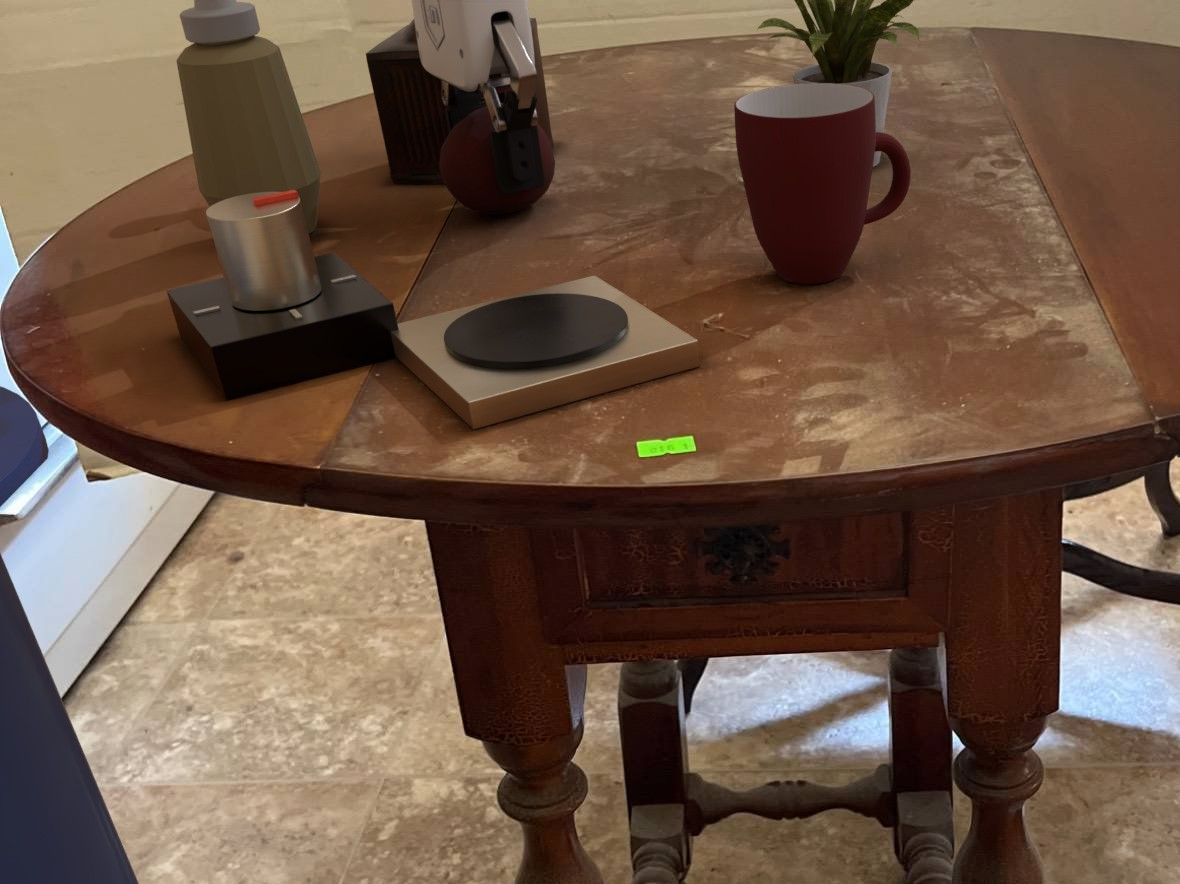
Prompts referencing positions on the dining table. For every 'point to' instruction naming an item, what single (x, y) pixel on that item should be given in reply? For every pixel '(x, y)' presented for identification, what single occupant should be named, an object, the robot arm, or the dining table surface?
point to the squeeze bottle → (243, 109)
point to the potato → (485, 167)
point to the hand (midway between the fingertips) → (498, 174)
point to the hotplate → (541, 350)
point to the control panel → (285, 331)
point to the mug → (813, 174)
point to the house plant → (848, 46)
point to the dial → (264, 250)
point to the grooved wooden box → (423, 106)
